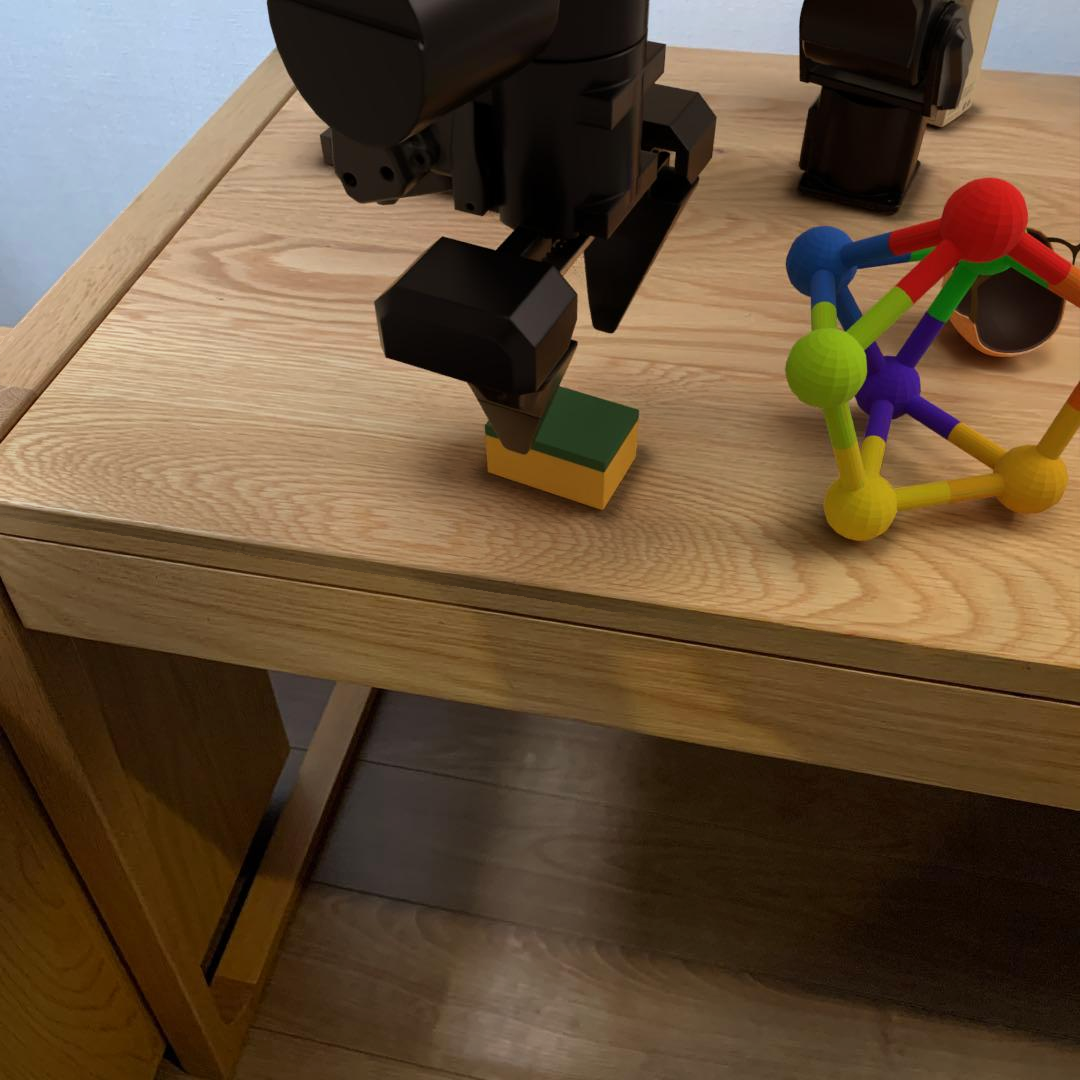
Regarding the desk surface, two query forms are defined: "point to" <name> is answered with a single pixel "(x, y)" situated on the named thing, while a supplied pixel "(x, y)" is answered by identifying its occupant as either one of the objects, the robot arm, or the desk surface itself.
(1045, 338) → the helmet
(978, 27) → the cosmetic box
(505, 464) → the sponge
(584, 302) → the desk surface
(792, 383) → the educational toy
